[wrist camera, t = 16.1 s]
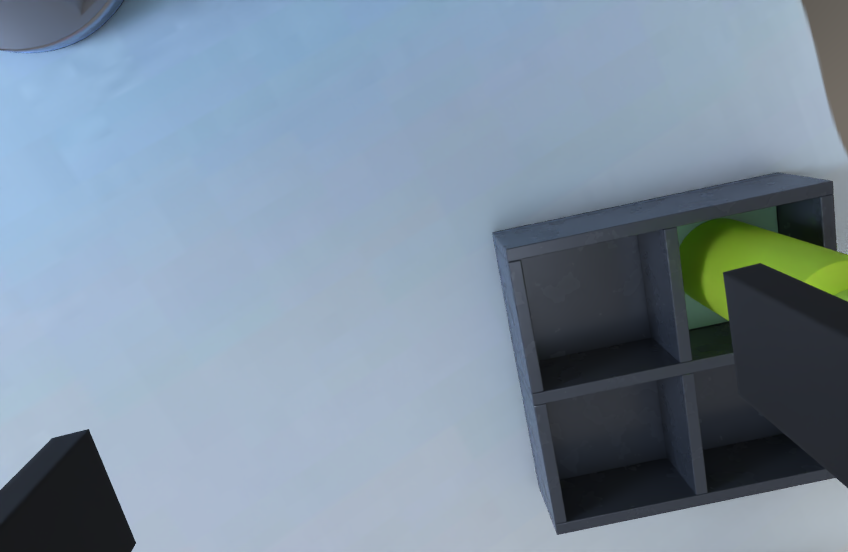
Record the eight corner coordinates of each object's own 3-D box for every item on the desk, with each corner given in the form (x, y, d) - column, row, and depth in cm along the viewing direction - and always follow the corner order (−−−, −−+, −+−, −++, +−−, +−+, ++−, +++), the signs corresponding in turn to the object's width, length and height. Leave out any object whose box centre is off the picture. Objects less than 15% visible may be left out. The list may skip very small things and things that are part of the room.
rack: (492, 232, 45) (505, 249, 39) (778, 172, 45) (833, 180, 39) (539, 487, 49) (557, 535, 44) (798, 433, 49) (850, 475, 44)
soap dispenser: (649, 243, 44) (845, 343, 25) (749, 204, 44) (1026, 275, 25) (674, 322, 46) (878, 475, 26) (771, 285, 45) (1050, 412, 26)
